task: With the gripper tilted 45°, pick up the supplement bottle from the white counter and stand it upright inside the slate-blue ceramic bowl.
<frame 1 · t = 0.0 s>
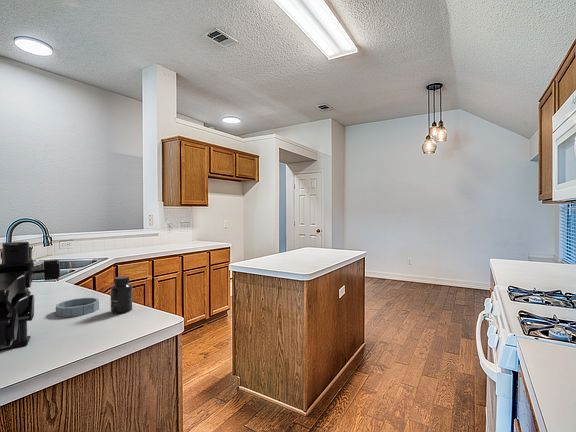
hand: (26, 268, 104), 17 cm above the countertop, tool horizontal, fingers open, 9 cm apart
supplement bottle: (121, 311, 111), on the countertop
bowl: (78, 310, 111), on the countertop
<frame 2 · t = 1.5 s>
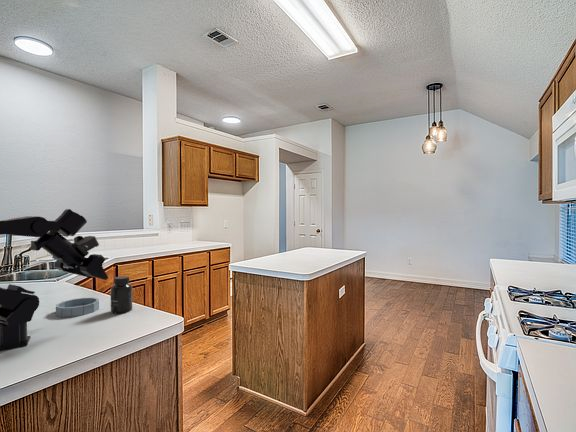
hand: (98, 277, 103), 13 cm above the countertop, tool tilted 45°, fingers open, 9 cm apart
nothing on the countertop moved.
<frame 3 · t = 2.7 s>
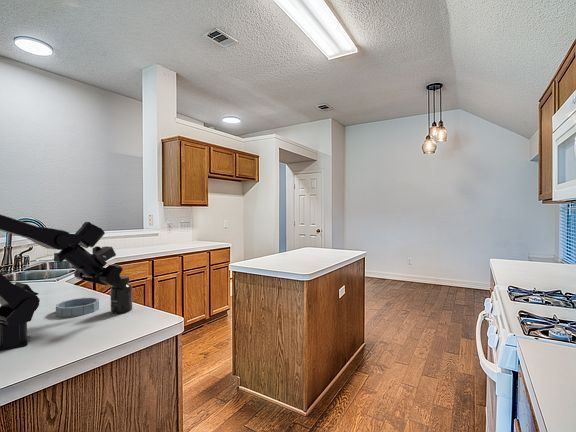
hand: (115, 285, 108), 9 cm above the countertop, tool tilted 45°, fingers open, 9 cm apart
nothing on the countertop moved.
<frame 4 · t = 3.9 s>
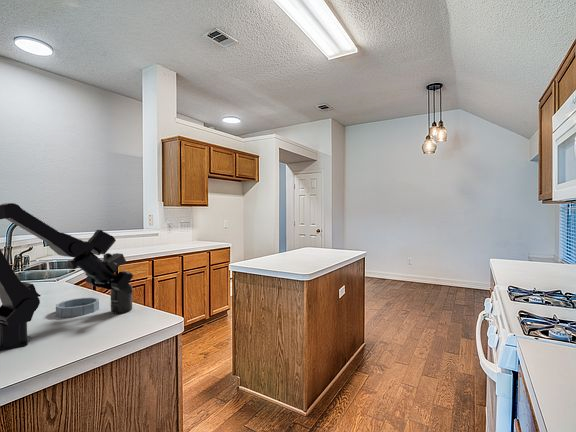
hand: (125, 291, 112), 7 cm above the countertop, tool tilted 45°, fingers closed on supplement bottle, 7 cm apart
supplement bottle: (121, 311, 111), on the countertop, touching gripper
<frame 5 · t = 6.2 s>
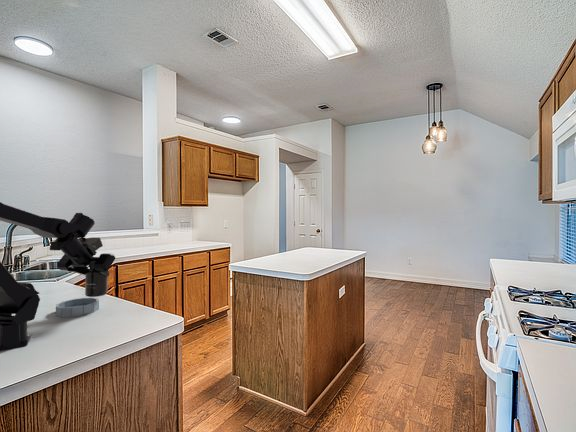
hand: (99, 275, 113), 12 cm above the countertop, tool tilted 45°, fingers closed on supplement bottle, 7 cm apart
supplement bottle: (96, 295, 112), point 5 cm above the countertop, touching gripper
when the fingers open (9 cm above the countertop, at t = 8.5 s): supplement bottle drops 1 cm, resting on bowl.
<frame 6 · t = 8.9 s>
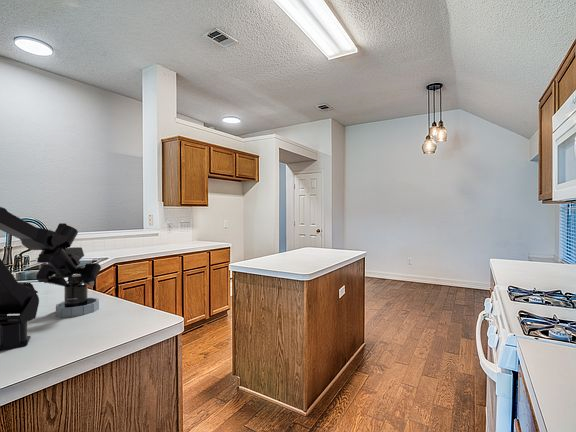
hand: (80, 285, 112), 9 cm above the countertop, tool tilted 45°, fingers open, 9 cm apart
supplement bottle: (76, 309, 111), point 1 cm above the countertop, touching bowl
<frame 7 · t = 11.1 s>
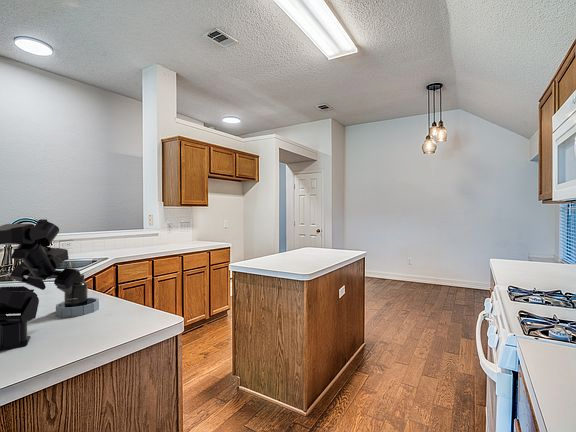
hand: (57, 291, 102), 10 cm above the countertop, tool tilted 40°, fingers open, 9 cm apart
nothing on the countertop moved.
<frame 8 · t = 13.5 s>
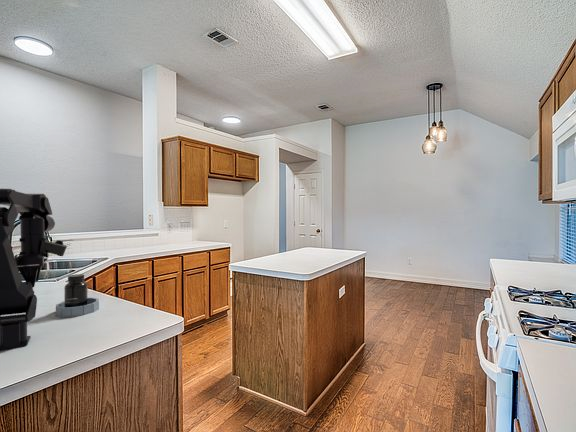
hand: (33, 284, 96), 13 cm above the countertop, tool pointing down, fingers open, 9 cm apart
nothing on the countertop moved.
at the end: supplement bottle 0.5 cm off-centre on the bowl, point 0.6 cm above the bowl's base; supplement bottle tilted 0°; the gripper is holding nothing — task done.
